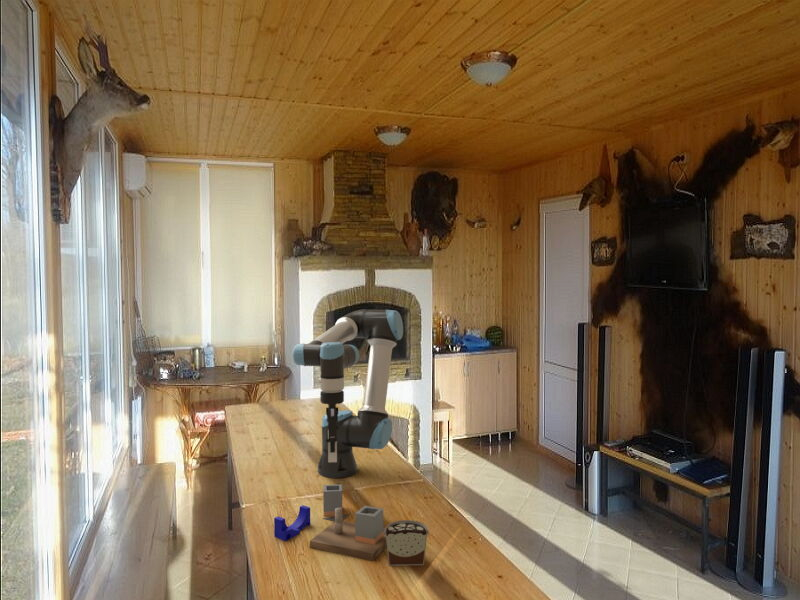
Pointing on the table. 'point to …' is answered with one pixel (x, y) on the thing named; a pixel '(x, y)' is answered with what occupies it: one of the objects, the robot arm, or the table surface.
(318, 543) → the pin board
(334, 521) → the mat
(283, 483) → the table surface
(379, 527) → the seated sleeve
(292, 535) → the cable clip
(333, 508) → the sleeve
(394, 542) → the brown grey rounded block
